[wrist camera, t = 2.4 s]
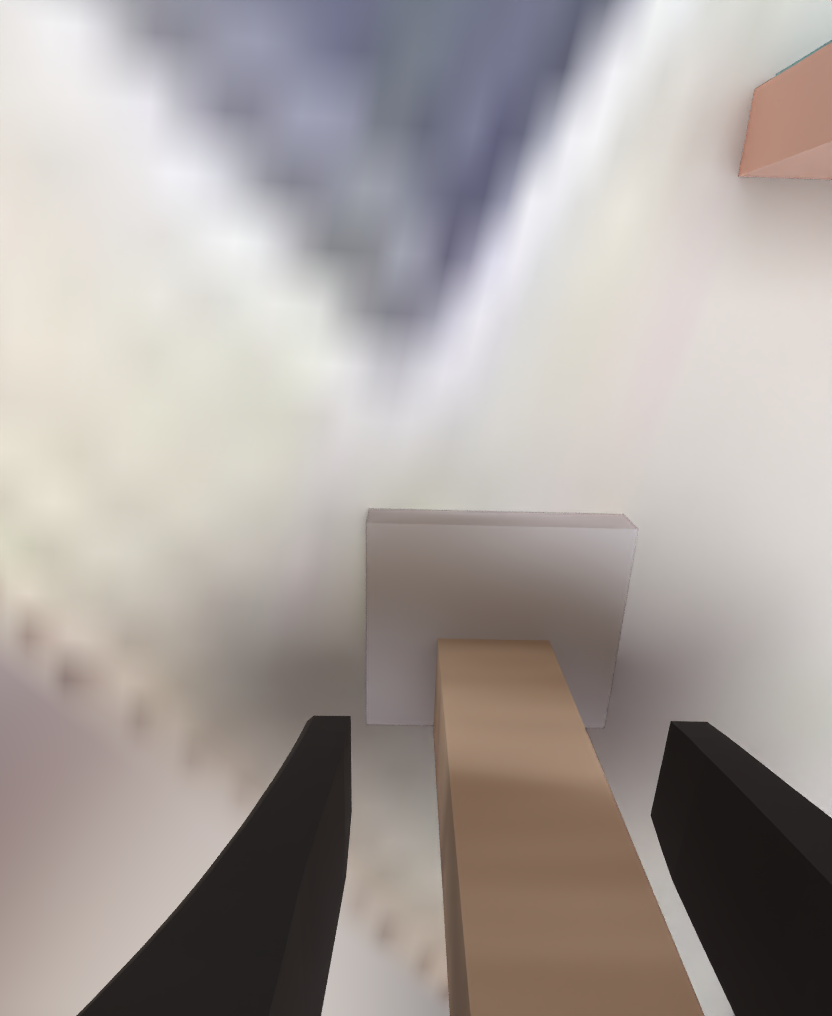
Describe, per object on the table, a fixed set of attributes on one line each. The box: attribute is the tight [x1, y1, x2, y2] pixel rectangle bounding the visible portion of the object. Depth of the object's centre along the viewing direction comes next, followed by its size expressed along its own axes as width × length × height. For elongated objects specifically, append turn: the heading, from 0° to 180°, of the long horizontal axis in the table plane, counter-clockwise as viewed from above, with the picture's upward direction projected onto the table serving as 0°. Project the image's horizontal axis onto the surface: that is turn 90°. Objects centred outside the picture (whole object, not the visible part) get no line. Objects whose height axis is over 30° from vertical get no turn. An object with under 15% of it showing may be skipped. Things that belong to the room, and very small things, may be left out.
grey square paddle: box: [366, 508, 704, 1016], centre depth 8 cm, size 5×5×8 cm
